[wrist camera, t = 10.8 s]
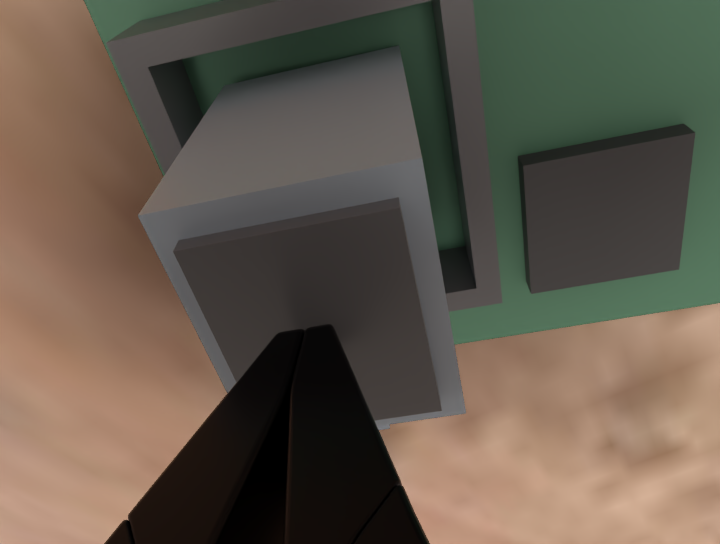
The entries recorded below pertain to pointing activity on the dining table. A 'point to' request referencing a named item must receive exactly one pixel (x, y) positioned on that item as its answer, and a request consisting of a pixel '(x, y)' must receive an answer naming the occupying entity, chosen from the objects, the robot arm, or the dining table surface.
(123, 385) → the dining table surface
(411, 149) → the plug
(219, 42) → the grey square frame
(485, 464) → the dining table surface
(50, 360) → the dining table surface
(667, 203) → the board
